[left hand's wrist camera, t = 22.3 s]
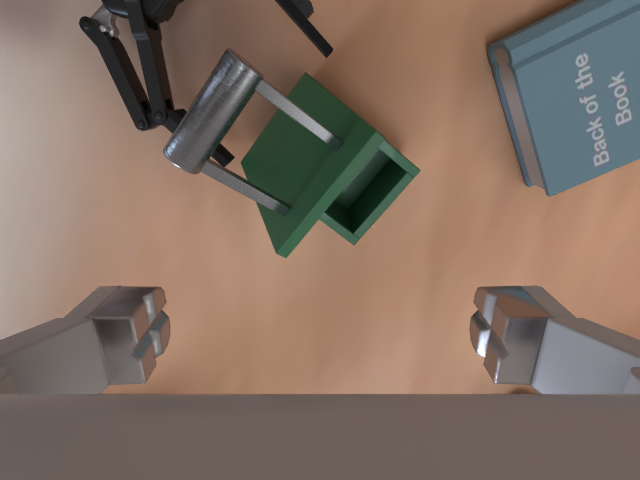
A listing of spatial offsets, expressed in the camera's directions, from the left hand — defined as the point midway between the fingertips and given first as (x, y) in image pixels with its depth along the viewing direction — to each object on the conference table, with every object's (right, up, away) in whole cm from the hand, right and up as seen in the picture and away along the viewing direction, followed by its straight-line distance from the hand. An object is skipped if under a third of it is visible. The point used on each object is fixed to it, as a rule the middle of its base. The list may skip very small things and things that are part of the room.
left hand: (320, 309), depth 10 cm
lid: (-1, +8, +18) cm, 20 cm away
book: (+31, +20, +30) cm, 47 cm away
